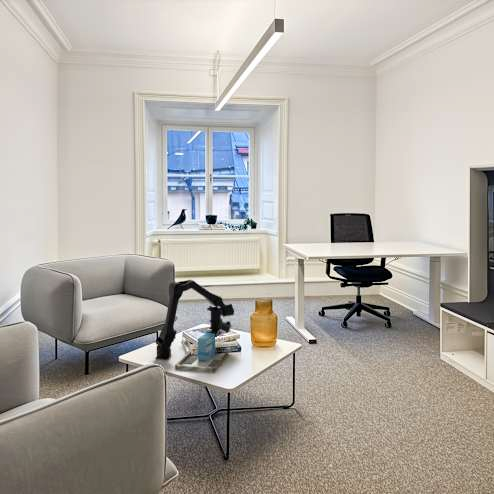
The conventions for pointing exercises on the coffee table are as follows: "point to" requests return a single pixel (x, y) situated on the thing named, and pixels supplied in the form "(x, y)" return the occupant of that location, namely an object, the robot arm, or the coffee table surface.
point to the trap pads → (192, 359)
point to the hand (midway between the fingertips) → (215, 345)
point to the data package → (206, 346)
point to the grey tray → (196, 368)
